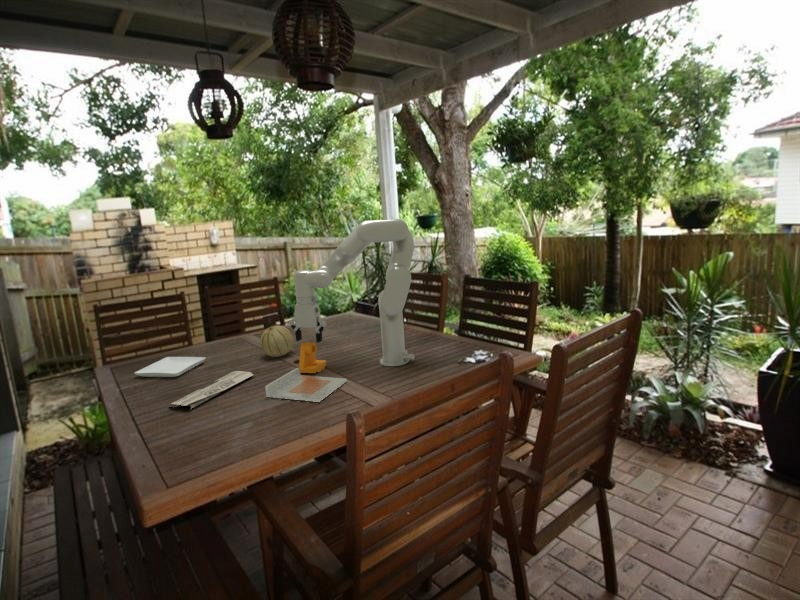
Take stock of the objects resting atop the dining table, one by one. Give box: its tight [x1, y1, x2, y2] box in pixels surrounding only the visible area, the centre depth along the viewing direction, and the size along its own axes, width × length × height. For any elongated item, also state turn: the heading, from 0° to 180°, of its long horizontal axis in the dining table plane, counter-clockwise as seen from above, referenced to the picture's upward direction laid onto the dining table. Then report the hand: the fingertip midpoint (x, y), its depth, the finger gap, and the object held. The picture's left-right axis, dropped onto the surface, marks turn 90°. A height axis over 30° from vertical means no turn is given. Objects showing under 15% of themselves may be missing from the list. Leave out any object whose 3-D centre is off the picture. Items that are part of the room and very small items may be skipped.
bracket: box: [298, 341, 327, 374], centre depth 189 cm, size 11×7×12 cm, turn 162°
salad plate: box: [134, 356, 207, 378], centre depth 203 cm, size 21×21×3 cm
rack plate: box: [264, 367, 348, 402], centre depth 168 cm, size 22×20×4 cm
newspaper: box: [167, 370, 255, 411], centre depth 173 cm, size 35×12×4 cm, turn 161°
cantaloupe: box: [259, 325, 294, 358], centre depth 212 cm, size 15×15×15 cm
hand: (309, 341), depth 188 cm, fingers open, 9 cm apart
